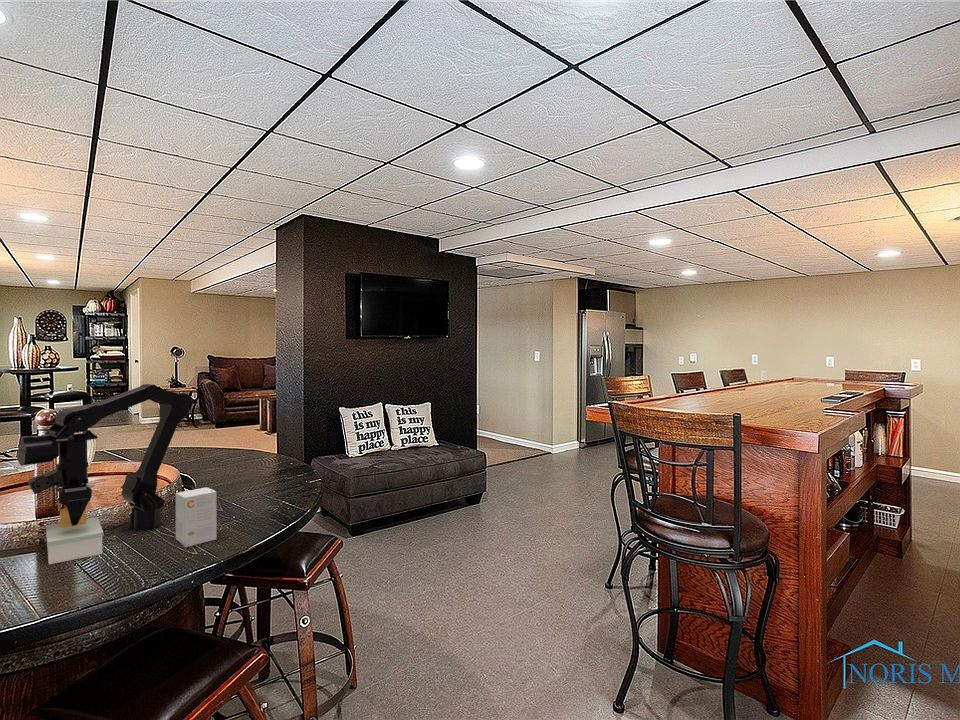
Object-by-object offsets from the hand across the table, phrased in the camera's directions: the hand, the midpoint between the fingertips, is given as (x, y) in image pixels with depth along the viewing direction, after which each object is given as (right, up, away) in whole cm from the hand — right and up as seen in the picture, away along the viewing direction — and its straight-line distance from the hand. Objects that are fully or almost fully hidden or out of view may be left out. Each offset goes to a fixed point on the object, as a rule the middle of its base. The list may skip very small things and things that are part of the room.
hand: (73, 520), depth 131 cm
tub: (+3, -7, -3) cm, 8 cm away
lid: (+3, -4, -3) cm, 5 cm away
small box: (+27, -8, +6) cm, 29 cm away
